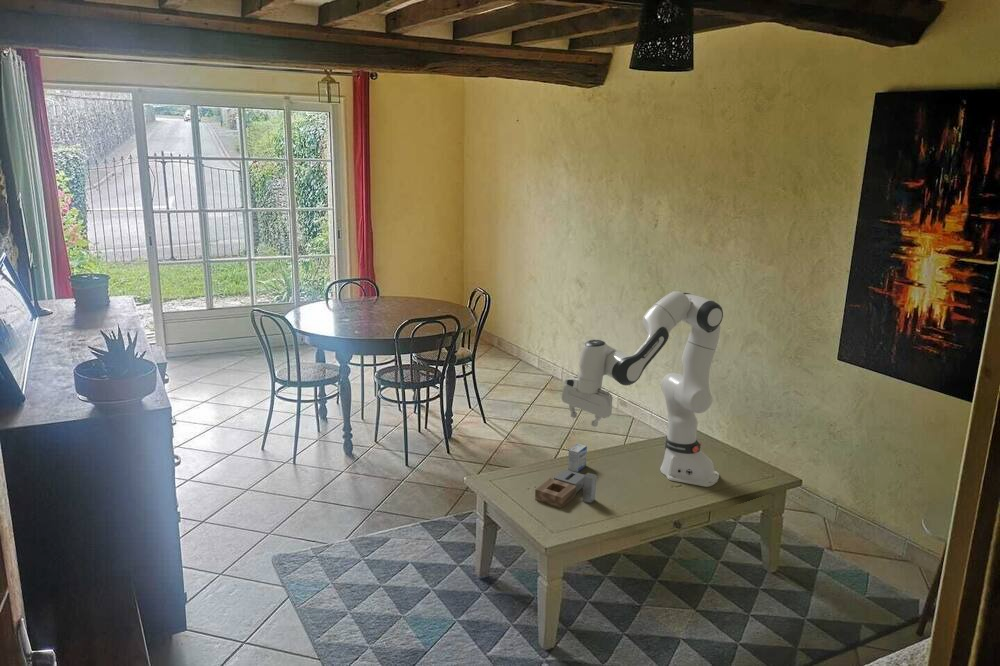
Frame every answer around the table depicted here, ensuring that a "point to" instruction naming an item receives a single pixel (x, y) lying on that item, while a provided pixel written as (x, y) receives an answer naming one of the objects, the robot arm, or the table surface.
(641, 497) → the table surface
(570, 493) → the walnut bore block
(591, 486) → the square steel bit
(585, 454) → the medicine box
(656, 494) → the table surface
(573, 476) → the grey slot block
